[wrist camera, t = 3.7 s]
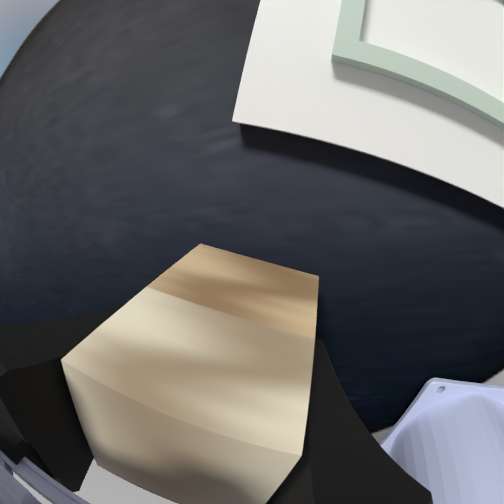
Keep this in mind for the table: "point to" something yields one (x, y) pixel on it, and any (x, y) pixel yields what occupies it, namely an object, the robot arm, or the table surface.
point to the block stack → (201, 379)
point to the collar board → (385, 82)
